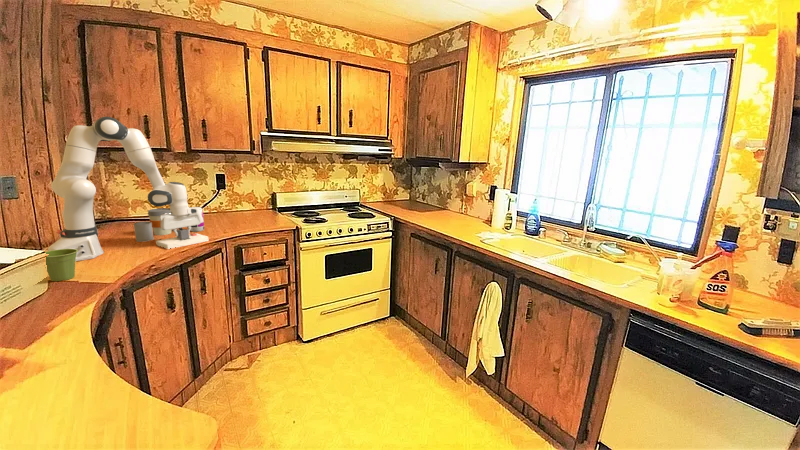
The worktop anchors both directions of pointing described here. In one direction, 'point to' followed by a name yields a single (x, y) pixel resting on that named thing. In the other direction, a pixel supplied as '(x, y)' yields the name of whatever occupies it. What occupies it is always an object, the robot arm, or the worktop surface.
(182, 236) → the plug
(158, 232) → the reusable coffee cup
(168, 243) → the socket plate
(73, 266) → the plant pot
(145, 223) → the cup
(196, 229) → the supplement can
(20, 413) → the worktop surface
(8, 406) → the worktop surface
